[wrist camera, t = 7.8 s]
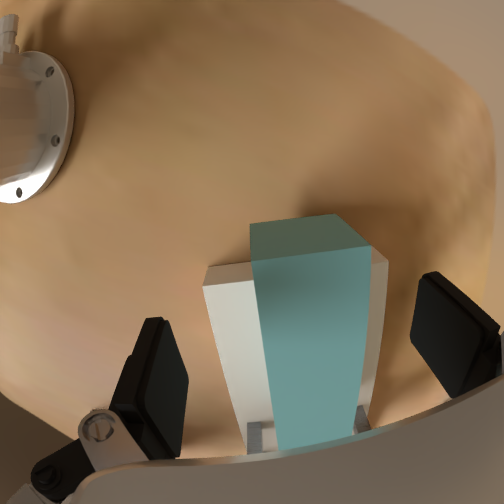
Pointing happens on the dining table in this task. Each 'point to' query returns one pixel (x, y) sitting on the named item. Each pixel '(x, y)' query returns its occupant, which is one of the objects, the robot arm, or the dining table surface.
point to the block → (312, 323)
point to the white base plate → (251, 346)
